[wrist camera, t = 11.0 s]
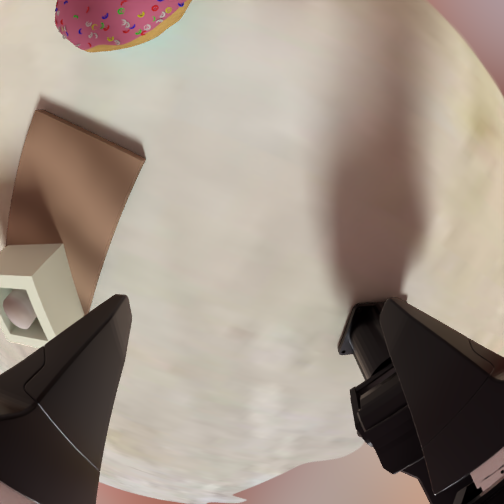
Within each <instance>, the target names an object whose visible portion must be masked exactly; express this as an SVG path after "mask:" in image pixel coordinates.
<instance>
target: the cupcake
mask: <svg viewBox="0 0 504 504" xmlns="http://www.w3.org/2000/svg"><path fill="white" fill-rule="evenodd" d="M191 1H192V0H57V4H56V10H55V11H56V13H55V24H56V27H57V28H58V30H59V32H61V34H62V35H63V39H65V38H67V39H68V40H69V41H70V42H72V43H73V44H74V45H75V46H76V47H78V48H80V49H83V50H85V51H87V52H100V51H112V50H118V49H123V48H128V47H132V46H136V45H139V44H142V43H144V42H147V41H149V40H151V39H153V38H155V37H157V36H159V35H160V34H161V33H163V32H164V31H165V30H166V29H168V28H169V27H170V26H172V25H173V24H175V23H176V22H178V21H179V20H180V19H181V17H182V16H183V14H184V13H185V11H186V9H187V7H188V6H189V4H190V2H191Z"/></svg>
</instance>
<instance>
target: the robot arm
mask: <svg viewBox="0 0 504 504" xmlns="http://www.w3.org/2000/svg"><path fill="white" fill-rule="evenodd" d="M359 308H360V309H359ZM358 309H359V310H358ZM131 323H132V314H131V309H130V304H129V299H128V297H127V296H126V295H120V294H115V295H114V296H112V297H111V298H109V299H108V300H106V301H105V302H103V303H102V304H100V305H99V306H98V307H96V308H95V309H93V310H92V311H90V312H89V313H88V314H86V315H85V316H83V317H82V318H81V319H79V320H78V321H76V322H75V323H74V324H72V325H71V326H69V327H68V328H67V329H65V330H64V331H62V332H61V333H60V334H58V335H57V336H56V337H54V338H53V339H51V340H50V341H49V342H47V343H46V344H45V345H44V346H42V347H41V348H39V349H38V350H37V351H35V352H34V353H32V354H31V355H30V356H28V357H27V358H25V359H24V360H23V361H21V362H19V363H18V364H16V365H15V366H13V367H12V368H10V369H9V370H7V371H5V372H4V373H2V374H1V375H0V504H96V496H97V489H98V482H99V476H100V472H99V471H100V468H101V462H102V457H103V451H104V446H105V441H106V436H107V431H108V426H109V422H110V417H111V413H112V409H113V404H114V400H115V396H116V392H117V388H118V384H119V381H120V377H121V373H122V370H123V366H124V362H125V357H126V351H127V345H128V339H129V334H130V328H131ZM338 352H339V354H340V355H348V354H353V355H354V357H355V359H356V361H357V364H358V366H359V368H360V370H361V372H362V374H363V377H364V379H365V381H364V382H363V383H361V384H360V385H358V386H357V387H353V388H352V389H350V395H351V404H352V410H353V415H354V421H355V427H356V430H357V434H358V436H359V437H362V438H363V439H364V441H365V442H366V443H367V444H368V445H369V446H371V447H374V449H375V450H376V453H377V455H378V457H379V459H380V462H381V464H382V466H383V468H384V469H386V470H387V471H389V472H390V473H392V474H396V473H398V472H400V471H401V472H403V473H405V474H408V475H410V476H412V477H415V478H417V479H418V481H419V482H420V484H421V486H422V488H423V490H424V492H425V494H426V496H427V498H428V500H429V502H430V504H504V357H502V356H500V355H498V354H496V353H494V352H493V351H491V350H489V349H487V348H485V347H483V346H482V345H480V344H478V343H476V342H475V341H473V340H471V339H469V338H467V337H466V336H464V335H463V334H461V333H459V332H457V331H456V330H454V329H452V328H450V327H449V326H447V325H445V324H443V323H442V322H440V321H438V320H436V319H435V318H433V317H431V316H429V315H428V314H426V313H424V312H422V311H420V310H419V309H417V308H415V307H413V306H412V305H410V304H408V303H407V302H406V301H403V300H401V299H399V298H388V299H387V300H386V302H380V303H361V304H357V305H355V306H354V308H353V311H352V313H351V316H350V319H349V322H348V325H347V328H346V330H345V333H344V336H343V338H342V341H341V344H340V346H339V349H338Z"/></svg>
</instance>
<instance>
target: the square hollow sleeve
mask: <svg viewBox="0 0 504 504" xmlns="http://www.w3.org/2000/svg"><path fill="white" fill-rule="evenodd" d="M13 289H24V290H26V291H27V294H28V296H29V299H30V301H31V304H32V306H33V308H34V311H35V313H36V315H37V317H36V318H35V320H34V321H33V323H32V324H31V326H30V327H29V328H28V329H22V328H19V327H17V326H16V325H15V324H13V323H12V322H11V321H10V319H9V318H8V317H7V315H6V313H5V311H4V308H3V301H4V300H5V298H6V297H7V296H8V295H9V294H10V292H11V291H12V290H13ZM83 316H84V312H83V309H82V306H81V303H80V300H79V297H78V294H77V291H76V288H75V285H74V281H73V278H72V275H71V271H70V268H69V264H68V260H67V256H66V253H65V249H64V244H63V243H62V244H30V245H8V246H6V247H5V248H4V249H3V250H2V251H0V328H1V330H2V332H3V334H4V336H5V338H6V339H7V341H8V342H12V343H16V344H20V345H25V346H30V347H34V348H41V347H42V346H44V345H45V344H46V343H47V342H49V341H50V340H51V339H53V338H54V337H56V336H57V335H58V334H60V333H61V332H62V331H64V330H65V329H67V328H68V327H69V326H71V325H72V324H74V323H75V322H76V321H78V320H79V319H81V318H82V317H83Z"/></svg>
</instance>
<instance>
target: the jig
mask: <svg viewBox="0 0 504 504" xmlns="http://www.w3.org/2000/svg"><path fill="white" fill-rule="evenodd" d="M145 160H146V159H145V158H143V157H141V156H139V155H137V154H135V153H133V152H131V151H129V150H127V149H125V148H123V147H121V146H119V145H117V144H115V143H113V142H111V141H109V140H107V139H104V138H102V137H100V136H98V135H96V134H94V133H92V132H90V131H88V130H86V129H84V128H81V127H79V126H77V125H75V124H73V123H71V122H69V121H67V120H64V119H62V118H60V117H58V116H56V115H53V114H51V113H49V112H47V111H45V110H35V113H34V116H33V119H32V121H31V124H30V127H29V130H28V134H27V137H26V140H25V144H24V147H23V151H22V154H21V158H20V162H19V166H18V170H17V175H16V179H15V184H14V189H13V195H12V200H11V207H10V213H9V221H8V229H7V239H6V246H8V245H30V244H62V243H63V244H64V249H65V253H66V256H67V260H68V264H69V268H70V271H71V275H72V278H73V281H74V285H75V288H76V291H77V294H78V297H79V300H80V303H81V306H82V309H83V312H84V316H85V315H86V314H88V313H89V310H90V306H91V303H92V299H93V296H94V292H95V289H96V285H97V282H98V279H99V276H100V272H101V269H102V266H103V263H104V260H105V257H106V254H107V251H108V248H109V246H110V243H111V240H112V237H113V235H114V232H115V229H116V227H117V224H118V222H119V219H120V216H121V214H122V211H123V209H124V207H125V204H126V202H127V199H128V197H129V195H130V192H131V190H132V188H133V186H134V183H135V181H136V179H137V177H138V175H139V172H140V170H141V168H142V166H143V164H144V162H145ZM3 308H4V311H5V313H6V315H7V317H8V318H9V319H10V321H11V322H12V323H13V324H15V325H16V326H17V327H19V328H22V329H28V328H29V327H30V326H31V324H32V323H33V321H34V320H35V318H36V317H37V315H36V313H35V311H34V308H33V306H32V304H31V301H30V299H29V296H28V294H27V291H26V290H24V289H13V290H12V291H11V292H10V294H9V295H8V296H7V297H6V298H5V300H4V301H3Z"/></svg>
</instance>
